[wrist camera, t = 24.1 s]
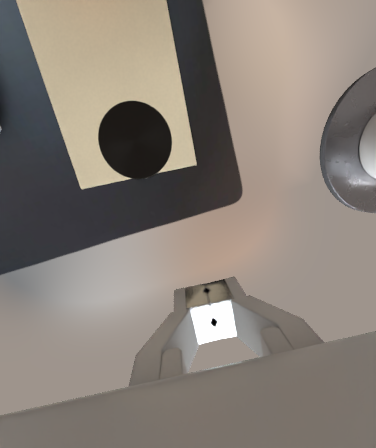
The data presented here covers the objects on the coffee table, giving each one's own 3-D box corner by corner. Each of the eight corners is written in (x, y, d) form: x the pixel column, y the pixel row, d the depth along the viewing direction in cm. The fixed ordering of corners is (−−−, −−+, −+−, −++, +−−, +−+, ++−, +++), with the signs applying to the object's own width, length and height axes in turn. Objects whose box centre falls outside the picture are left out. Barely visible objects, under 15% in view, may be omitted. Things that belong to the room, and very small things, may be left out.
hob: (139, -141, 26) (138, -153, 25) (196, 164, 36) (196, 164, 35) (-19, -110, 25) (-26, -121, 24) (83, 188, 35) (80, 189, 34)
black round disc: (163, 95, 32) (162, 93, 31) (179, 171, 36) (179, 171, 35) (90, 111, 32) (87, 108, 31) (112, 185, 36) (110, 185, 35)
